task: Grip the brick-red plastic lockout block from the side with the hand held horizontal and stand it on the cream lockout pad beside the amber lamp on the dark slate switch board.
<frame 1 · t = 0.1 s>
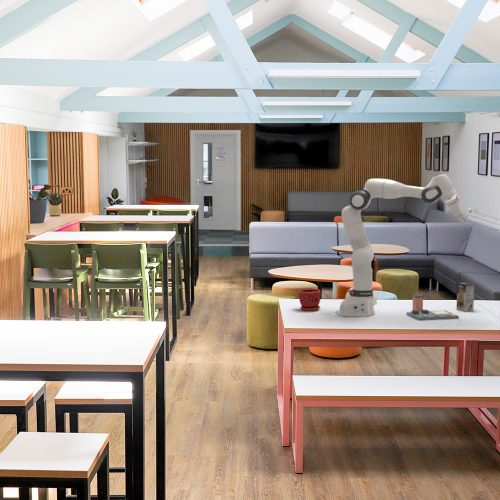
hand: (463, 221, 432), 54 cm above the table, tool tilted 30°, fingers open, 8 cm apart
coffee box: (464, 310, 461), on the table
lockout block: (417, 311, 458), on the table
plant pot: (309, 310, 467), on the table
beige deep bowl: (360, 303, 487), on the table
switch board: (432, 316, 442), on the table
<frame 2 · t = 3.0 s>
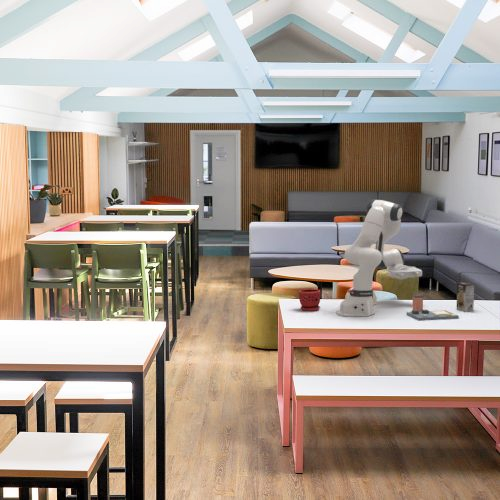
hand: (410, 275, 467), 20 cm above the table, tool horizontal, fingers open, 8 cm apart
nothing on the table moved.
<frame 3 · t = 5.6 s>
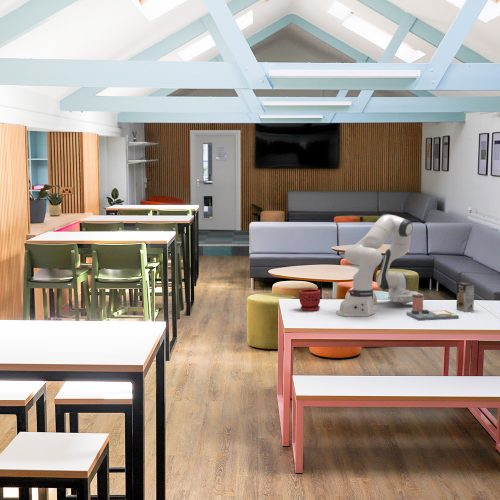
hand: (411, 300, 465), 5 cm above the table, tool horizontal, fingers open, 8 cm apart
nothing on the table moved.
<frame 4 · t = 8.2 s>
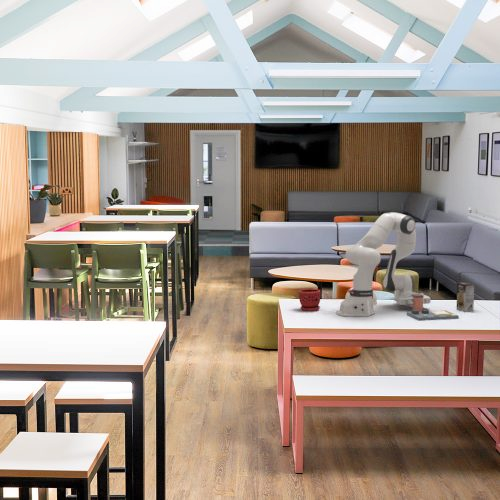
hand: (418, 302, 456), 6 cm above the table, tool horizontal, fingers closed on lockout block, 4 cm apart
lockout block: (417, 311, 458), on the table, touching gripper
everything else where it was.
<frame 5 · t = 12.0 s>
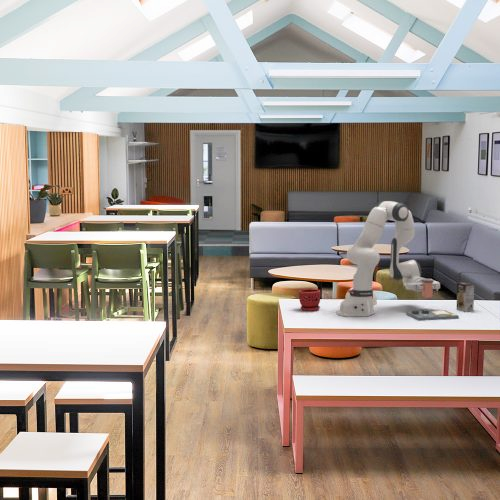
hand: (428, 287, 450), 15 cm above the table, tool horizontal, fingers closed on lockout block, 4 cm apart
lockout block: (427, 297, 452), point 9 cm above the table, touching gripper
everything else where it was.
when the fingers open (8 cm above the table, at t = 15.9 s): lockout block stays where it is, resting on switch board.
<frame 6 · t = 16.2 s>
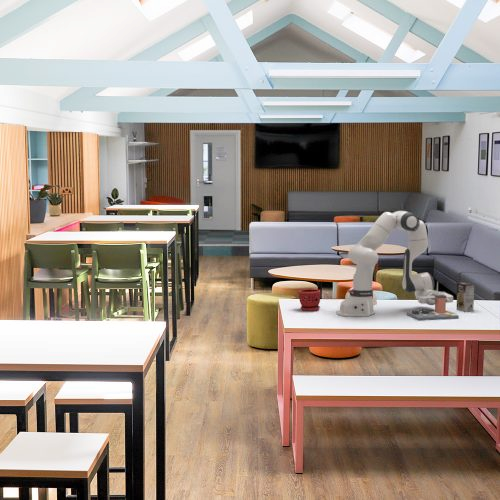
hand: (441, 301, 444), 8 cm above the table, tool horizontal, fingers open, 7 cm apart
lockout block: (440, 312, 446), point 2 cm above the table, touching switch board
everything else where it was.
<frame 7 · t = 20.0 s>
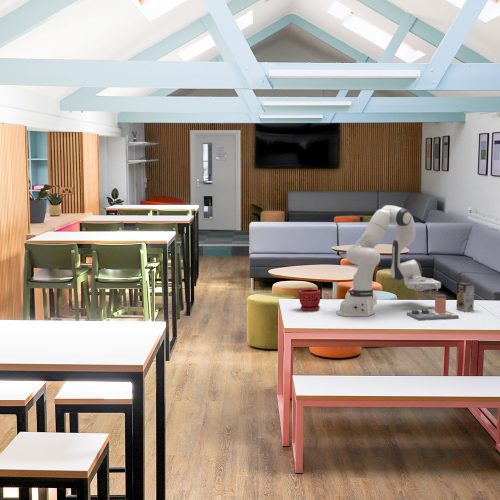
hand: (428, 286, 458), 14 cm above the table, tool horizontal, fingers open, 8 cm apart
nothing on the table moved.
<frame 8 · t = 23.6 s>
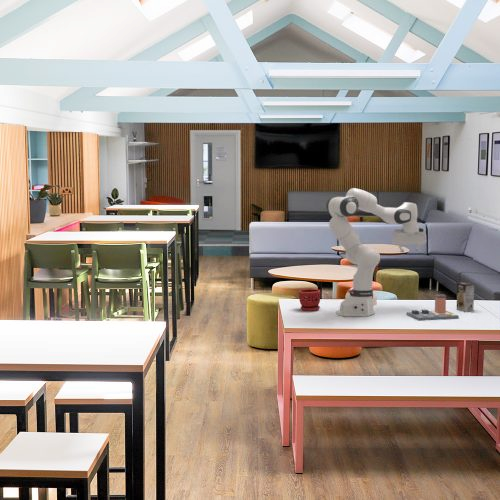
hand: (409, 252, 464), 34 cm above the table, tool pointing down, fingers open, 8 cm apart
nothing on the table moved.
at the end: lockout block 0.0 cm from the target spot on the switch board, point 1.7 cm above the switch board's base; lockout block tilted 0°; the gripper is holding nothing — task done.
